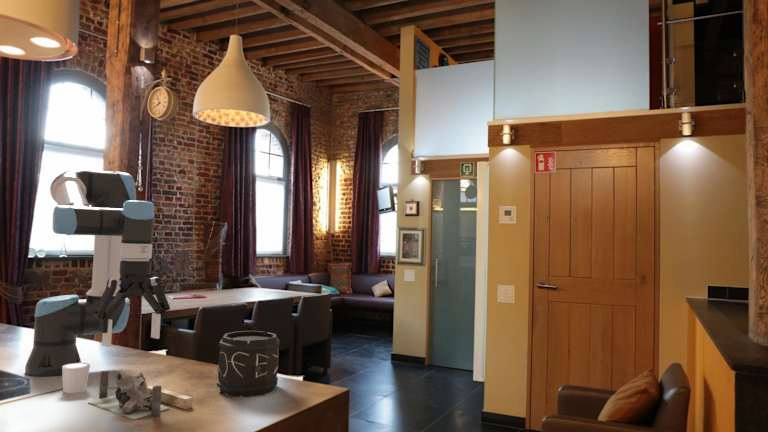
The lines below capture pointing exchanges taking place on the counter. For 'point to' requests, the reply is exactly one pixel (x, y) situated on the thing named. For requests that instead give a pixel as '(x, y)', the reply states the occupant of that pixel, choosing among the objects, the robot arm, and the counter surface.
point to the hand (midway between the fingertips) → (131, 341)
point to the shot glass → (75, 377)
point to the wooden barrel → (248, 363)
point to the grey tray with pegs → (157, 398)
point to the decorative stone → (132, 393)
